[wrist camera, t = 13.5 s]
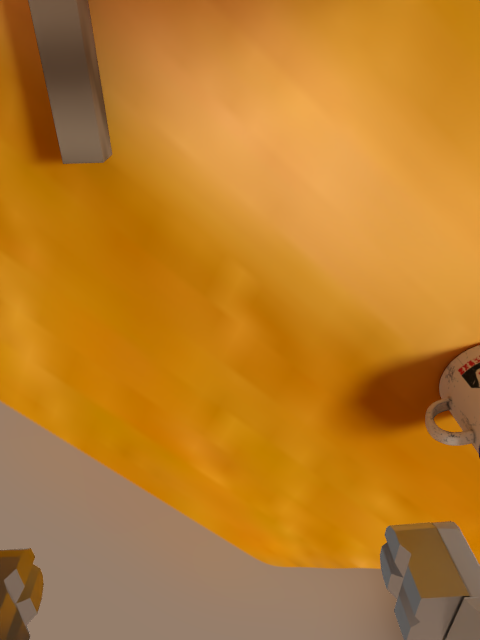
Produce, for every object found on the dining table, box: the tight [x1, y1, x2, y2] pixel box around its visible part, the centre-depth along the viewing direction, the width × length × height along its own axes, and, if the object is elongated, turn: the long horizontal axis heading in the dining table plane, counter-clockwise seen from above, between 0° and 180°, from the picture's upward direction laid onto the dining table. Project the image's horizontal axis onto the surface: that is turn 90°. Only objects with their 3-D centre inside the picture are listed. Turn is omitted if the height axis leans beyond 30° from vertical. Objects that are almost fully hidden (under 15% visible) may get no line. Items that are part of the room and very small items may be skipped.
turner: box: [28, 0, 112, 164], centre depth 26 cm, size 17×6×3 cm, turn 1°
